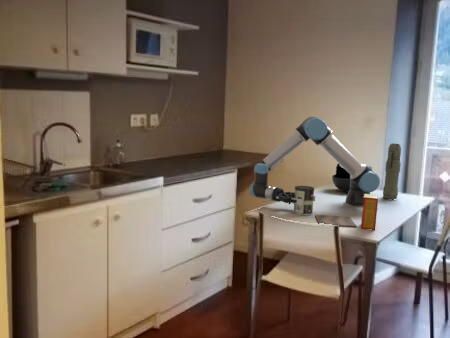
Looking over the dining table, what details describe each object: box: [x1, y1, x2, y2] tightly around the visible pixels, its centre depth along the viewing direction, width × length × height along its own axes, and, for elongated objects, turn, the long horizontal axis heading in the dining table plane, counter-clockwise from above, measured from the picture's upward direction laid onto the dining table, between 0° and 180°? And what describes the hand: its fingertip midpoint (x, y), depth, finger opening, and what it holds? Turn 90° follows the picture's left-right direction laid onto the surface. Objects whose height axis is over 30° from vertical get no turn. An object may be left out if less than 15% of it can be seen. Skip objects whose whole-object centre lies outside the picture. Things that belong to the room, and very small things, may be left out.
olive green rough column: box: [382, 143, 402, 200], centre depth 305 cm, size 9×12×35 cm
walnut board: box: [314, 214, 358, 228], centre depth 244 cm, size 18×18×1 cm
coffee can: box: [293, 185, 315, 216], centre depth 258 cm, size 10×10×14 cm
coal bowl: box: [331, 162, 350, 193], centre depth 322 cm, size 20×20×19 cm
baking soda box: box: [360, 193, 379, 231], centre depth 235 cm, size 10×6×16 cm
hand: (308, 200), depth 256 cm, fingers open, 13 cm apart
